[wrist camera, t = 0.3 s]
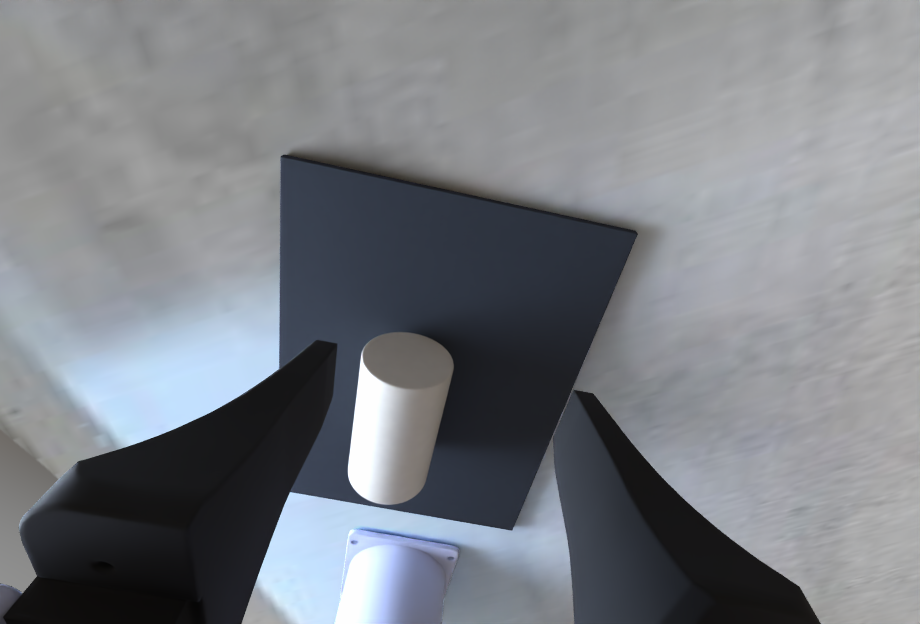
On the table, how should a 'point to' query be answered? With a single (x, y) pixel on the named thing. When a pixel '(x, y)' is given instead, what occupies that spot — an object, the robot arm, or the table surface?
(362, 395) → the paper roll
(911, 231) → the table surface
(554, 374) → the desk mat
